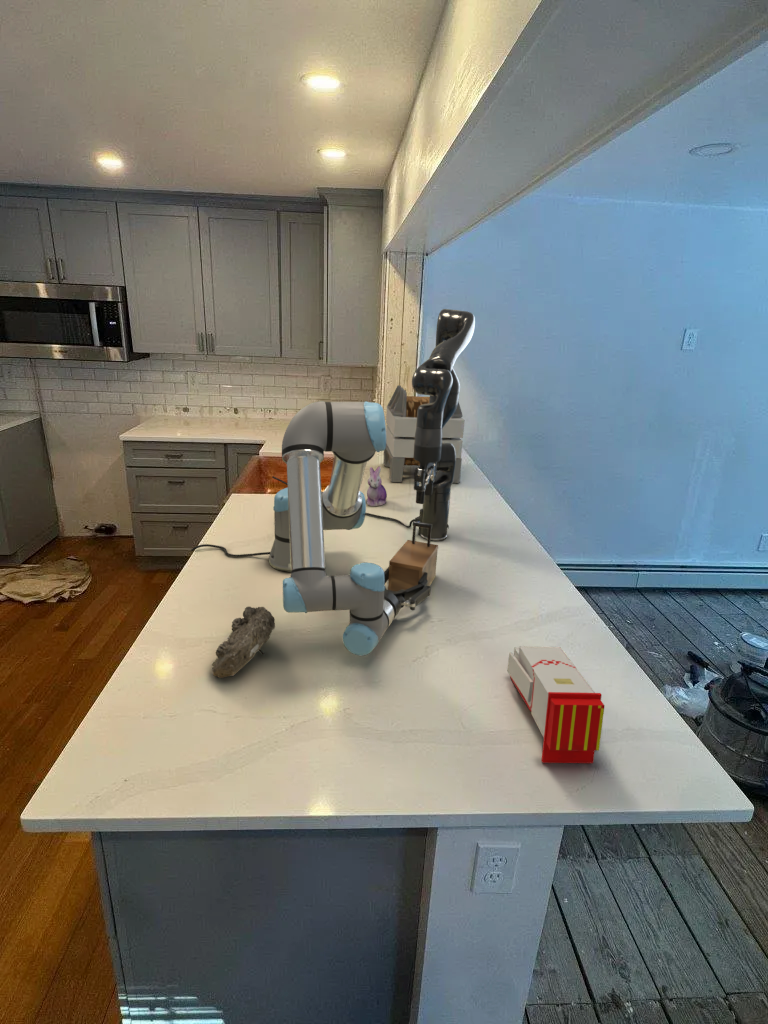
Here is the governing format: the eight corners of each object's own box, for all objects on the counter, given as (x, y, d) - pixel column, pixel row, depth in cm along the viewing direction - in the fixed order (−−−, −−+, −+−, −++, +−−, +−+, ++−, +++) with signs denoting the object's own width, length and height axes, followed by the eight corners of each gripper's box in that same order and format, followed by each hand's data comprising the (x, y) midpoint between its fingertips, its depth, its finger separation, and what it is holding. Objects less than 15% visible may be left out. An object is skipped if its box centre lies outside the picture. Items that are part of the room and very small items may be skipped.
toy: (556, 628, 125) (614, 701, 96) (551, 684, 128) (605, 771, 99) (502, 627, 125) (543, 700, 95) (497, 683, 128) (536, 770, 98)
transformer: (382, 463, 289) (386, 382, 275) (445, 464, 293) (451, 384, 279) (390, 482, 257) (394, 392, 243) (460, 483, 261) (468, 394, 247)
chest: (405, 571, 172) (407, 543, 169) (435, 576, 169) (437, 549, 166) (387, 594, 157) (389, 565, 154) (420, 601, 154) (422, 571, 151)
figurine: (371, 508, 224) (372, 471, 219) (360, 500, 232) (361, 464, 227) (392, 505, 228) (394, 469, 223) (380, 497, 236) (382, 462, 231)
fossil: (228, 609, 137) (273, 580, 132) (255, 636, 140) (300, 609, 135) (192, 672, 118) (244, 640, 113) (224, 701, 121) (275, 672, 116)
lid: (407, 543, 169) (409, 517, 167) (438, 548, 166) (440, 523, 164) (389, 564, 154) (390, 537, 152) (422, 571, 151) (424, 543, 149)
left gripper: (338, 615, 141) (370, 578, 161) (423, 634, 135) (446, 593, 154) (338, 588, 139) (371, 554, 159) (425, 606, 132) (448, 568, 152)
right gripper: (434, 450, 148) (430, 508, 153) (447, 439, 160) (443, 494, 166) (407, 446, 150) (403, 504, 156) (422, 436, 163) (418, 490, 168)
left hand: (408, 573), depth 157 cm, fingers closed on chest, 9 cm apart
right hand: (424, 499), depth 161 cm, fingers open, 8 cm apart
